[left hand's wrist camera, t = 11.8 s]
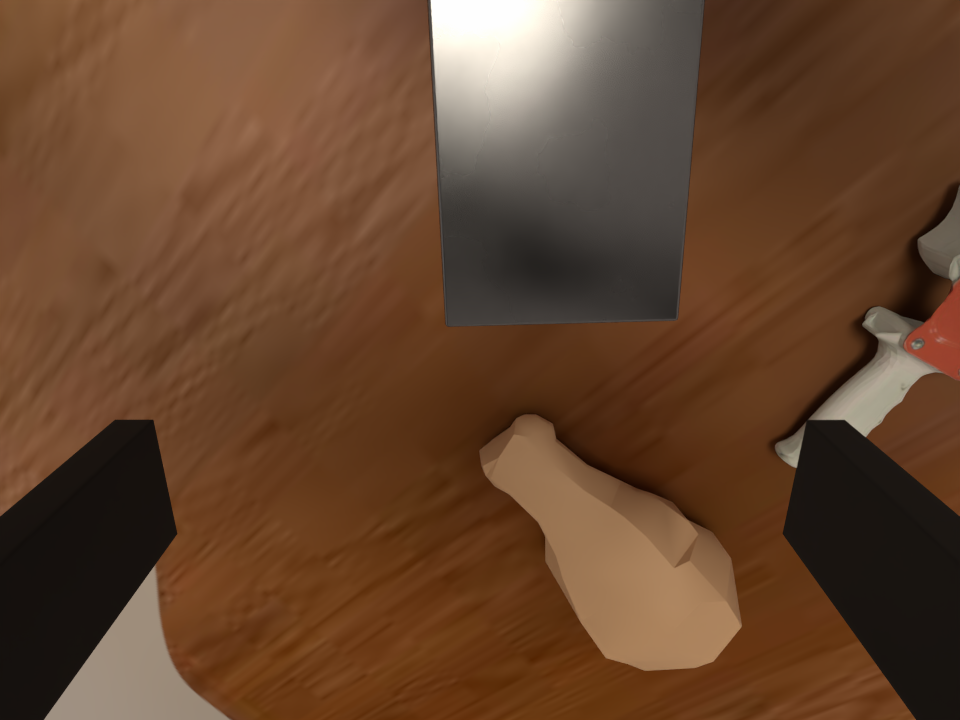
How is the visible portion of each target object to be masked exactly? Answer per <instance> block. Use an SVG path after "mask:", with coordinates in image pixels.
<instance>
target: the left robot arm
mask: <svg viewBox="0 0 960 720" xmlns="http://www.w3.org/2000/svg"><path fill="white" fill-rule="evenodd" d="M176 535H177V530H176V526H175V521H174V516H173V511H172V507H171V502H170V497H169V492H168V488H167V483H166V478H165V473H164V469H163V464H162V459H161V454H160V449H159V445H158V440H157V435H156V430H155V426H154V421H153V420H114V421H113V422H112V423H111V424H110V425H108V426H107V427H106V428H105V429H104V430H102V431H101V432H100V433H99V434H98V435H97V436H95V437H94V438H93V439H92V440H91V441H89V442H88V443H87V444H86V445H85V446H83V447H82V448H81V449H80V450H79V451H78V452H76V453H75V454H74V455H73V456H72V457H70V458H69V459H68V460H67V461H66V462H64V463H63V464H62V465H61V466H60V467H59V468H57V469H56V470H55V471H54V472H53V473H51V474H50V475H49V476H48V477H47V478H46V479H44V480H43V481H42V482H41V483H40V484H38V485H37V486H36V487H35V488H34V489H32V490H31V491H30V492H29V493H28V494H27V495H25V496H24V497H23V498H22V499H21V500H19V501H18V502H17V503H16V504H15V505H13V506H12V507H11V508H10V509H9V510H8V511H6V512H5V513H4V514H3V515H2V516H0V720H44V719H45V717H46V716H47V714H48V713H49V712H50V710H51V709H52V707H53V706H54V705H55V703H56V702H57V701H58V699H59V698H60V696H61V695H62V694H63V692H64V691H65V689H66V688H67V687H68V685H69V684H70V682H71V681H72V680H73V678H74V677H75V675H76V674H77V673H78V671H79V670H80V669H81V667H82V666H83V664H84V663H85V661H86V660H87V659H88V657H89V656H90V655H91V653H92V652H93V650H94V649H95V648H96V646H97V645H98V643H99V642H100V641H101V639H102V638H103V636H104V635H105V634H106V632H107V631H108V630H109V628H110V627H111V625H112V624H113V623H114V621H115V620H116V618H117V617H118V616H119V614H120V613H121V611H122V610H123V609H124V607H125V606H126V605H127V603H128V602H129V600H130V599H131V598H132V596H133V595H134V593H135V592H136V591H137V589H138V588H139V586H140V585H141V584H142V582H143V581H144V579H145V578H146V577H147V575H148V574H149V572H150V571H151V570H152V568H153V567H154V566H155V564H156V563H157V561H158V560H159V559H160V557H161V556H162V554H163V553H164V552H165V550H166V549H167V547H168V546H169V545H170V543H171V542H172V540H173V539H174V538H175V536H176ZM783 535H784V536H785V538H786V539H787V540H788V542H789V543H790V545H791V546H792V547H793V549H794V550H795V552H796V553H797V554H798V556H799V557H800V559H801V560H802V561H803V563H804V564H805V566H806V567H807V568H808V570H809V571H810V573H811V574H812V575H813V577H814V578H815V579H816V581H817V582H818V584H819V585H820V586H821V588H822V589H823V591H824V592H825V593H826V595H827V596H828V598H829V599H830V600H831V602H832V603H833V605H834V606H835V607H836V609H837V610H838V611H839V613H840V614H841V616H842V617H843V618H844V620H845V621H846V623H847V624H848V625H849V627H850V628H851V630H852V631H853V632H854V634H855V635H856V637H857V638H858V639H859V641H860V642H861V643H862V645H863V646H864V648H865V649H866V650H867V652H868V653H869V655H870V656H871V657H872V659H873V660H874V662H875V663H876V664H877V666H878V667H879V669H880V670H881V671H882V673H883V674H884V676H885V677H886V678H887V680H888V681H889V682H890V684H891V685H892V687H893V688H894V689H895V691H896V692H897V694H898V695H899V696H900V698H901V699H902V701H903V702H904V703H905V705H906V706H907V708H908V709H909V710H910V712H911V713H912V714H913V716H914V717H915V719H916V720H960V516H958V515H957V514H956V513H955V512H954V511H952V510H951V509H950V508H949V507H948V506H947V505H945V504H944V503H943V502H942V501H941V500H939V499H938V498H937V497H936V496H935V495H933V494H932V493H931V492H930V491H929V490H928V489H926V488H925V487H924V486H923V485H922V484H920V483H919V482H918V481H917V480H916V479H914V478H913V477H912V476H911V475H910V474H909V473H907V472H906V471H905V470H904V469H903V468H901V467H900V466H899V465H898V464H897V463H896V462H894V461H893V460H892V459H891V458H890V457H888V456H887V455H886V454H885V453H884V452H882V451H881V450H880V449H879V448H878V447H877V446H875V445H874V444H873V443H872V442H871V441H869V440H868V439H867V438H866V437H865V436H863V435H862V434H861V433H860V432H859V431H858V430H856V429H855V428H854V427H853V426H852V425H850V424H849V423H848V422H847V421H846V420H807V421H806V426H805V430H804V435H803V440H802V445H801V449H800V454H799V459H798V464H797V469H796V473H795V478H794V483H793V488H792V492H791V497H790V502H789V507H788V511H787V516H786V521H785V526H784V530H783Z"/></svg>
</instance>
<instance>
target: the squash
mask: <svg viewBox="0 0 960 720" xmlns="http://www.w3.org/2000/svg"><path fill="white" fill-rule="evenodd" d="M479 453H480V460H481V467H482V469H483V471H484V473H485V475H486V477H487V478H488V479H489V480H490V481H491V483H492V484H493V485H494V486H495V487H497V488H498V489H500V490H502V491H504V492H506V493H508V494H509V495H510V496H512V497H513V498H514V499H515V500H516V501H517V502H518V503H519V504H520V505H521V506H522V507H523V508H524V509H525V510H526V511H527V512H528V513H529V514H530V515H531V516H532V517H533V518H534V519H535V520H536V521H537V522H538V523H539V525H540V527H541V529H542V531H543V533H544V535H545V555H546V563H547V565H548V567H549V568H550V570H551V572H552V573H553V575H554V577H555V579H556V580H557V582H558V584H559V586H560V587H561V589H562V591H563V592H564V594H565V596H566V598H567V599H568V601H569V603H570V605H571V606H572V608H573V610H574V611H575V613H576V615H577V617H578V618H579V620H580V622H581V623H582V625H583V626H584V628H585V629H586V630H587V632H588V633H589V635H590V636H591V637H592V639H593V640H594V642H595V643H596V645H597V646H598V647H599V649H600V650H601V652H602V653H603V654H604V656H605V657H606V658H608V659H612V660H615V661H619V662H623V663H626V664H629V665H632V666H634V667H637V668H639V669H642V670H644V671H648V670H666V669H683V668H696V667H699V666H702V665H704V664H707V663H710V662H713V661H714V660H715V659H716V658H717V656H718V655H719V654H720V653H721V651H722V650H723V649H724V648H725V646H726V645H727V644H728V643H729V642H730V640H731V639H732V638H733V637H734V635H735V634H736V633H737V632H738V630H739V629H740V628H741V627H742V624H741V618H740V612H739V605H738V599H737V593H736V586H735V580H734V574H733V567H732V561H731V558H730V556H729V555H728V554H727V552H726V551H725V549H724V548H723V547H722V545H721V544H720V542H719V541H718V539H717V538H716V537H715V535H714V534H713V532H711V531H709V530H707V529H705V528H703V527H701V526H699V525H697V524H695V523H693V522H691V521H689V520H687V519H686V517H685V516H684V515H683V514H682V513H681V511H680V510H679V509H678V508H677V507H676V505H675V504H674V503H673V502H671V501H669V500H667V499H664V498H662V497H659V496H657V495H655V494H652V493H650V492H647V491H643V490H640V489H637V488H635V487H633V486H631V485H629V484H627V483H624V482H622V481H620V480H618V479H616V478H614V477H612V476H610V475H608V474H606V473H604V472H601V471H599V470H597V469H595V468H593V467H591V466H589V465H587V464H586V463H585V462H583V461H582V460H581V459H580V458H579V457H578V456H576V455H575V454H574V453H573V452H572V451H570V450H569V449H568V448H567V447H566V446H564V445H563V444H562V443H561V442H560V441H559V440H557V439H556V436H555V431H554V426H553V423H551V422H549V421H547V420H546V419H544V418H542V417H540V416H538V415H536V414H524V415H522V416H520V417H518V418H516V419H515V421H514V422H513V424H512V425H511V426H510V428H508V429H507V430H505V431H504V432H502V433H501V434H499V435H498V436H496V437H495V438H494V439H492V440H491V441H490V442H489V443H488V444H486V445H485V446H484V447H483V448H482V449H480V450H479Z"/></svg>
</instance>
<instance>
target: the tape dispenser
mask: <svg viewBox="0 0 960 720" xmlns="http://www.w3.org/2000/svg"><path fill="white" fill-rule="evenodd" d="M918 250H919V253H920V256H921V257H922V259H923V261H924V262H925V264H926V265H927V266H928V267H929V269H930V270H931V271H932V272H933V273H935V274H937V275H939V276H941V277H944V278H946V279H949V280H952V285H951V289H950V292H949V294H948V296H947V298H946V299H945V301H944V302H943V303H942V304H941V305H940V307H939V308H938V309H937V310H936V311H935V312H934V314H933V315H932V316H931V317H930V318H929V319H927V320H926V321H925V322H921V321H917V320H914V319H910V318H906V317H902V316H900V315H898V314H896V313H894V312H892V311H890V310H888V309H886V308H883V307H880V306H878V307H874V308H872V309H870V310H869V311H868V312H867V314H866V316H865V321H864V322H863V324H862V326H863V327H864V328H865V329H867V330H868V331H869V332H871V333H872V334H873V335H875V336H876V337H877V339H878V341H879V344H878V350H877V353H876V355H875V357H874V358H873V359H872V360H871V361H870V362H869V363H868V364H867V365H866V366H864V367H863V368H862V369H861V370H860V371H858V372H857V373H856V374H855V375H854V376H853V377H851V378H850V379H849V380H848V381H847V382H846V383H844V384H843V385H842V386H841V387H840V388H839V389H838V390H837V391H836V392H835V393H834V394H833V395H831V396H830V397H829V398H828V399H827V400H826V401H825V402H824V403H823V404H822V405H821V406H820V407H819V409H818V410H817V411H816V412H815V413H814V414H813V415H812V416H811V417H810V418H809V419H808V420H846V421H847V422H848V423H849V424H850V425H852V426H853V427H854V428H855V429H856V430H858V431H859V432H860V433H861V434H862V435H863V436H865V437H866V436H867V435H868V433H869V432H870V431H871V430H872V429H873V428H874V427H876V426H877V425H879V424H880V423H881V422H882V420H883V419H884V417H885V415H886V414H887V413H888V412H889V411H890V410H891V409H892V408H893V407H894V406H896V405H897V404H899V403H900V402H902V400H903V398H904V396H905V394H906V393H907V391H908V390H909V388H910V387H911V386H912V385H913V384H914V383H915V382H916V381H917V380H918V379H919V378H920V377H921V376H923V375H925V374H929V373H934V372H938V373H944V374H946V375H948V376H949V377H951V378H953V379H955V380H959V381H960V186H959V188H958V192H957V196H956V200H955V202H954V205H953V207H952V209H951V210H950V212H949V213H948V215H947V216H946V218H945V219H944V220H943V221H942V222H941V223H940V224H939V225H938V226H937V227H935V228H934V229H933V230H931V231H930V232H928V233H927V234H925V235H924V236H922V237H920V238H919V239H918ZM805 426H806V422H805V424H804V425H803V426H802V427H801V428H800V429H799V430H798V431H797V432H796V433H795V434H794V435H793V436H791V437H789V438H787V439H785V440H783V441H780V442H777V444H776V445H775V451H776V453H777V454H778V456H779V457H780V458H781V459H782V460H783V461H785V462H786V463H788V464H789V465H791V466H793V467H795V468H797V464H798V459H799V454H800V449H801V445H802V440H803V435H804V430H805Z"/></svg>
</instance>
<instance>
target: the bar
mask: <svg viewBox="0 0 960 720" xmlns="http://www.w3.org/2000/svg"><path fill="white" fill-rule="evenodd" d="M427 3H428V21H429V39H430V57H431V75H432V93H433V111H434V129H435V147H436V165H437V183H438V201H439V219H440V237H441V255H442V273H443V291H444V309H445V324H446V326H448V327H456V326H493V325H531V324H568V323H605V322H643V321H675V320H677V319H678V314H679V302H680V290H681V278H682V266H683V254H684V242H685V231H686V219H687V207H688V195H689V183H690V171H691V159H692V148H693V136H694V124H695V112H696V100H697V88H698V76H699V64H700V53H701V41H702V29H703V17H704V5H705V0H427Z"/></svg>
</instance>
